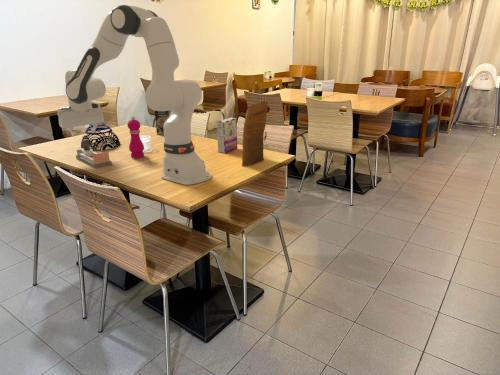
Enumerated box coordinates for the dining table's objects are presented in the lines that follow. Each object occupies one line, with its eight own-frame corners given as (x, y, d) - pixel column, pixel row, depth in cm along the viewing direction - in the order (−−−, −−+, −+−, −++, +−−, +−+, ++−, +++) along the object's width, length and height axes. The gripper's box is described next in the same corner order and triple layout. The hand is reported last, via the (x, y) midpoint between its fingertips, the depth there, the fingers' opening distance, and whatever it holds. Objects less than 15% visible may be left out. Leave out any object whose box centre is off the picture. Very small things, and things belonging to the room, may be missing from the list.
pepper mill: (140, 158, 186) (136, 118, 179) (127, 158, 188) (122, 117, 180) (147, 154, 193) (143, 115, 185) (134, 154, 194) (129, 115, 187)
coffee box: (156, 134, 233) (153, 108, 227) (160, 132, 239) (158, 106, 233) (170, 135, 232) (168, 108, 226) (174, 132, 238) (172, 106, 232)
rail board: (112, 164, 178) (110, 152, 176) (95, 168, 173) (93, 155, 171) (92, 154, 193) (90, 143, 191) (76, 158, 188) (74, 146, 186)
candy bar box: (230, 147, 205) (229, 117, 199) (237, 148, 203) (237, 118, 197) (217, 152, 197) (216, 120, 191) (224, 153, 194) (224, 121, 188)
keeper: (93, 155, 186) (91, 140, 183) (86, 157, 184) (83, 141, 181) (89, 153, 189) (86, 138, 186) (82, 155, 187) (79, 139, 184)
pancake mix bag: (271, 158, 186) (272, 100, 175) (247, 168, 171) (247, 106, 161) (260, 156, 189) (260, 99, 179) (236, 166, 175) (235, 104, 165)
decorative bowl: (89, 153, 196) (84, 126, 191) (76, 146, 210) (71, 120, 205) (126, 146, 208) (122, 120, 203) (111, 140, 222) (107, 115, 217)
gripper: (58, 109, 169) (64, 139, 174) (103, 103, 182) (107, 132, 187) (53, 107, 173) (59, 136, 178) (97, 102, 186) (101, 130, 192)
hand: (84, 134), depth 183 cm, fingers open, 8 cm apart
